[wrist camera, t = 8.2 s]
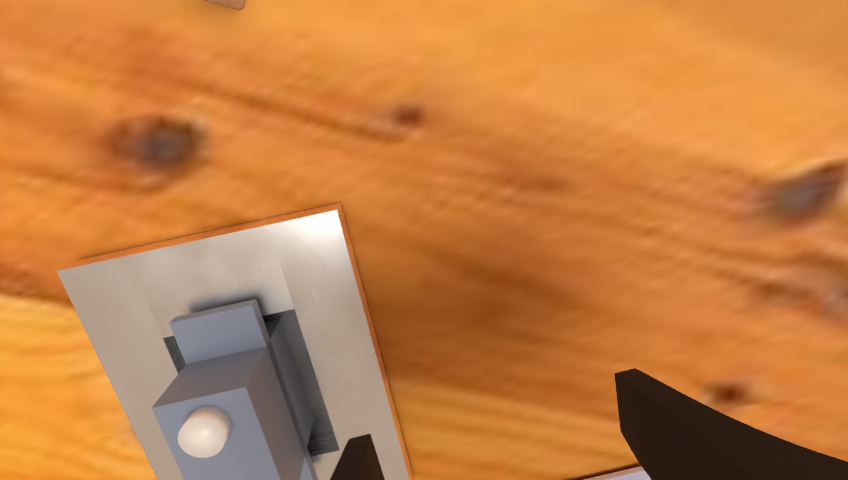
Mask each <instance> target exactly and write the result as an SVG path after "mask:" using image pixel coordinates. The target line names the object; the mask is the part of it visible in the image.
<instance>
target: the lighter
mask: <svg viewBox="0 0 848 480" xmlns="http://www.w3.org/2000/svg"><path fill="white" fill-rule="evenodd" d="M206 1H210V2H213V3H216V4H220V5H223V6H226V7H230V8H233V9H236V10H240V9H242V8H243V7H244V4H245V0H206Z"/></svg>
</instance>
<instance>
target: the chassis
mask: <svg viewBox="0 0 848 480" xmlns="http://www.w3.org/2000/svg"><path fill="white" fill-rule="evenodd" d="M57 273H58V275H59V277H60V279H61V281H62V283H63V285H64V287H65V289H66V292H67V294H68V296H69V298H70V300H71V302H72V304H73V306H74V308H75V310H76V312H77V314H78V316H79V318H80V320H81V322H82V325H83V327H84V329H85V331H86V333H87V335H88V337H89V339H90V341H91V343H92V345H93V347H94V349H95V351H96V353H97V355H98V358H99V360H100V362H101V364H102V366H103V368H104V370H105V372H106V374H107V376H108V378H109V380H110V382H111V384H112V386H113V388H114V390H115V393H116V395H117V397H118V399H119V401H120V403H121V405H122V407H123V409H124V411H125V413H126V415H127V417H128V419H129V421H130V423H131V426H132V428H133V430H134V432H135V434H136V436H137V438H138V440H139V442H140V444H141V446H142V448H143V450H144V452H145V454H146V456H147V459H148V461H149V463H150V465H151V467H152V469H153V471H154V473H155V475H156V477H157V479H158V480H184V478H183V476H182V474H181V472H180V469H179V467H178V465H177V463H176V461H175V459H174V456H173V454H172V452H171V450H170V448H169V445H168V443H167V441H166V439H165V437H164V435H163V432H162V430H161V428H160V426H159V424H158V422H157V419H156V417H155V415H154V413H153V411H152V407H153V405H154V404H155V403H156V402H157V400H158V399H159V398H160V397H161V395H162V394H163V393H164V392H165V390H166V389H167V388H168V386H169V385H170V384H171V383H172V381H173V380H174V379H175V378H176V376H177V375H178V374H179V373H180V371H181V370H182V369H183V368H184V366H185V365H186V363H185V361H184V358H183V356H182V353H181V351H180V349H179V346H178V344H177V341H176V339H175V337H174V334H173V332H172V329H171V327H170V325H169V323H170V322H171V321H172V320H173V319H174V318H175V317H177V316H181V315H186V314H191V313H195V312H200V311H204V310H209V309H213V308H218V307H222V306H227V305H232V304H236V303H241V302H245V301H250V300H254V299H256V300H257V303H258V306H259V309H260V312H261V315H262V318H263V321H264V323H265V322H270V321H274V320H279V319H281V323H282V326H283V329H284V332H285V335H286V338H287V341H288V344H289V347H290V350H291V353H292V356H293V359H294V362H295V365H296V368H297V371H298V374H299V377H300V380H301V383H302V386H303V389H304V392H305V395H306V398H307V401H308V404H309V407H310V410H311V413H312V416H313V419H314V421H313V425H312V429H311V434H310V438H309V442H308V446H307V448H308V451H309V454H310V457H311V460H312V463H313V466H314V469H315V472H316V475H317V477H318V480H330V478H331V476H332V474H333V472H334V470H335V467H336V465H337V463H338V461H339V459H340V457H341V454H342V452H343V450H344V448H345V446H346V443H347V442H348V440H349V439H350V438H354V437H358V436H362V435H366V434H371V437H372V441H373V444H374V447H375V450H376V453H377V456H378V460H379V463H380V466H381V469H382V472H383V475H384V479H385V480H413V473H412V470H411V466H410V462H409V458H408V454H407V451H406V447H405V443H404V439H403V436H402V432H401V428H400V424H399V421H398V417H397V413H396V409H395V406H394V402H393V398H392V394H391V391H390V387H389V383H388V379H387V375H386V372H385V368H384V364H383V360H382V357H381V353H380V349H379V345H378V342H377V338H376V334H375V330H374V327H373V323H372V319H371V315H370V312H369V308H368V304H367V300H366V296H365V293H364V289H363V285H362V281H361V278H360V274H359V270H358V266H357V263H356V259H355V255H354V251H353V248H352V244H351V240H350V236H349V232H348V229H347V225H346V221H345V217H344V214H343V210H342V206H341V202H340V203H336V204H331V205H327V206H322V207H317V208H313V209H308V210H304V211H299V212H294V213H290V214H285V215H281V216H276V217H271V218H267V219H262V220H258V221H253V222H249V223H244V224H239V225H235V226H230V227H226V228H221V229H216V230H212V231H207V232H203V233H198V234H193V235H189V236H184V237H180V238H175V239H170V240H166V241H161V242H157V243H152V244H147V245H143V246H138V247H134V248H129V249H124V250H120V251H115V252H111V253H106V254H102V255H97V256H92V257H88V258H83V259H80V260H78V261H76V262H74V263H72V264H70V265H68V266H66V267H64V268H62V269H60V270H58V271H57Z"/></svg>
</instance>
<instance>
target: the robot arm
mask: <svg viewBox="0 0 848 480" xmlns="http://www.w3.org/2000/svg"><path fill="white" fill-rule="evenodd" d="M615 382H616V391H617V401H618V410H619V419H620V428H621V432H622V434H623V436H624V438H625V439H626V441H627V443H628V445H629V446H630V448H631V450H632V451H633V453H634V455H635V456H636V458H637V460H638V461H639V463H640V465H641V466H639V467H635V468H631V469H626V470H622V471H618V472H614V473H609V474H605V475H601V476H597V477H592V478H588V479H584V480H848V462H846V461H843V460H840V459H837V458H834V457H831V456H828V455H825V454H821V453H818V452H816V451H813V450H810V449H807V448H804V447H801V446H798V445H796V444H793V443H791V442H788V441H785V440H783V439H780V438H778V437H775V436H772V435H770V434H767V433H765V432H763V431H760V430H758V429H755V428H753V427H751V426H748V425H746V424H744V423H742V422H740V421H737V420H735V419H733V418H731V417H729V416H726V415H724V414H722V413H720V412H718V411H716V410H714V409H712V408H710V407H708V406H706V405H704V404H702V403H700V402H698V401H696V400H694V399H692V398H690V397H688V396H686V395H684V394H682V393H680V392H679V391H677V390H675V389H673V388H671V387H669V386H667V385H665V384H664V383H662V382H660V381H658V380H656V379H654V378H653V377H651V376H649V375H647V374H645V373H643V372H641V371H639V370H637V369H631V370H627V371H623V372H619V373H615ZM330 480H385V479H384V475H383V472H382V469H381V466H380V463H379V460H378V456H377V453H376V450H375V447H374V444H373V441H372V437H371V434H366V435H362V436H358V437H354V438H350V439H349V440H348V442H347V443H346V446H345V448H344V450H343V452H342V454H341V457H340V459H339V461H338V463H337V465H336V467H335V470H334V472H333V474H332V476H331V478H330Z"/></svg>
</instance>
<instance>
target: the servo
mask: <svg viewBox="0 0 848 480" xmlns="http://www.w3.org/2000/svg"><path fill="white" fill-rule="evenodd" d="M169 325H170V327H171V329H172V332H173V334H174V337H175V339H176V341H177V344H178V346H179V349H180V351H181V353H182V356H183V358H184V361H185V363H186V365H185V366H184V368H183V369H182V370H181V371H180V373H179V374H178V375H177V376H176V378H175V379H174V380H173V381H172V383H171V384H170V385H169V386H168V388H167V389H166V390H165V392H164V393H163V394H162V395H161V397H160V398H159V399H158V400H157V402H156V403H155V404H154V405H153V407H152V411H153V413H154V415H155V417H156V419H157V422H158V424H159V426H160V428H161V430H162V432H163V435H164V437H165V439H166V441H167V443H168V445H169V448H170V450H171V452H172V454H173V456H174V459H175V461H176V463H177V465H178V467H179V469H180V472H181V474H182V476H183V478H184V480H318V477H317V475H316V472H315V469H314V466H313V463H312V460H311V457H310V454H309V451H308V448H307V446H308V442H309V438H310V434H311V429H312V425H313V421H314V419H313V416H312V413H311V410H310V407H309V404H308V401H307V398H306V395H305V392H304V389H303V386H302V383H301V380H300V377H299V374H298V371H297V368H296V365H295V362H294V359H293V356H292V353H291V350H290V347H289V344H288V341H287V338H286V335H285V332H284V329H283V326H282V323H281V319H279V320H274V321H270V322H265V323H264V321H263V318H262V315H261V312H260V309H259V306H258V303H257V300H256V299H254V300H250V301H245V302H241V303H236V304H232V305H227V306H222V307H218V308H213V309H209V310H204V311H200V312H195V313H191V314H186V315H181V316H177V317H175V318H174V319H173V320H172V321H171V322H170V323H169Z"/></svg>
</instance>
